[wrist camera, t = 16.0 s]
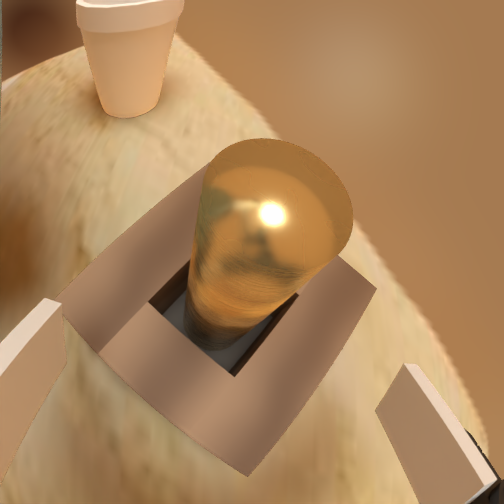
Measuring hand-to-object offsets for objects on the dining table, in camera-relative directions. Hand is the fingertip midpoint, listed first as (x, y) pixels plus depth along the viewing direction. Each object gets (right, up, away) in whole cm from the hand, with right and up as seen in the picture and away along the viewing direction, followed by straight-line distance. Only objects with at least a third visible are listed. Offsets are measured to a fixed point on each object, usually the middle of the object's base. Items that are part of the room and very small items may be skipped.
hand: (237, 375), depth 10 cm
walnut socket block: (-2, -1, +11) cm, 11 cm away
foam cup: (-12, +20, +18) cm, 30 cm away
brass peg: (-2, 0, +10) cm, 10 cm away
